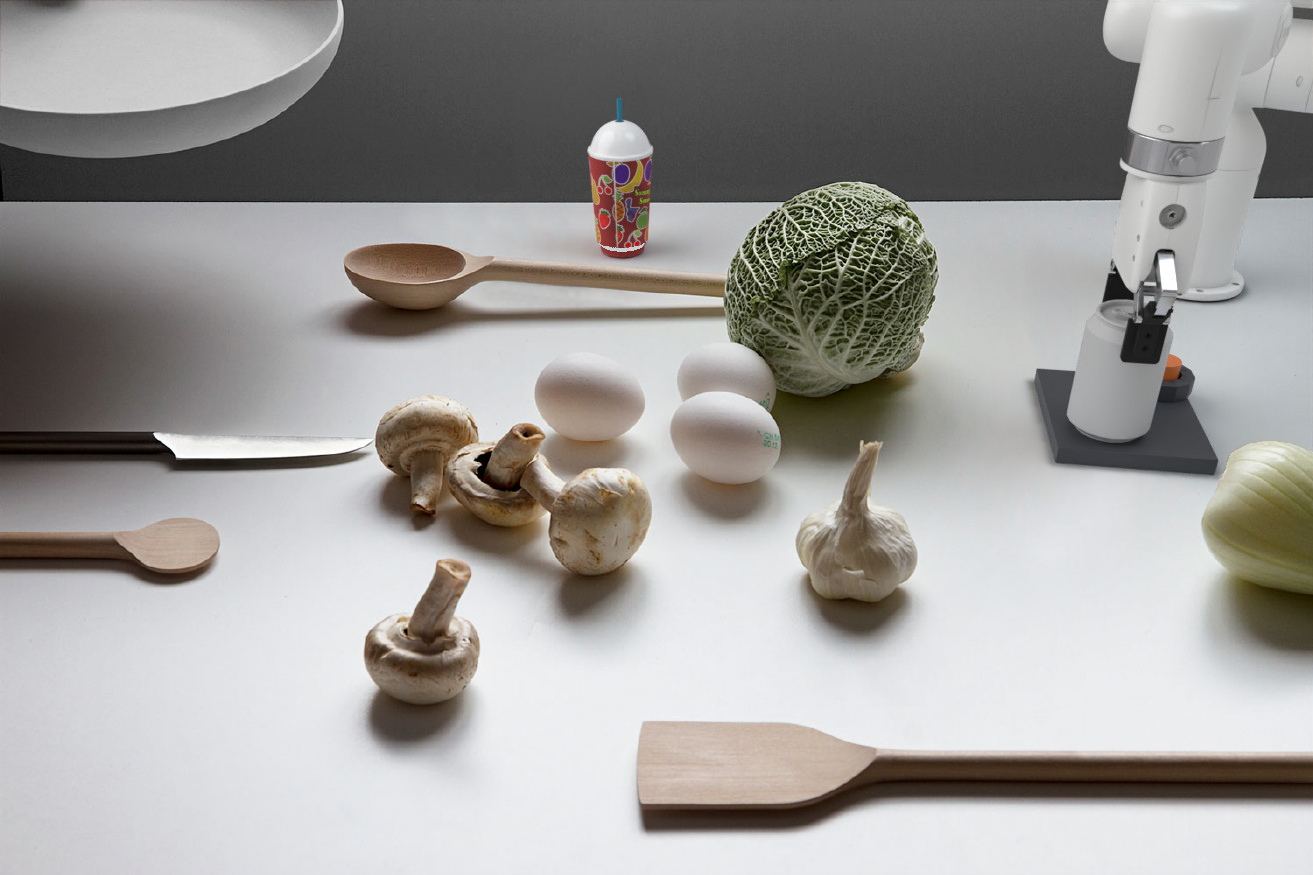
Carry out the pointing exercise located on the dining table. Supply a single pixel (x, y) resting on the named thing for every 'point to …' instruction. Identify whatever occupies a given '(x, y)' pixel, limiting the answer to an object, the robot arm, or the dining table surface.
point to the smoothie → (621, 185)
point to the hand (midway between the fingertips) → (1128, 337)
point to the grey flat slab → (1162, 448)
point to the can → (1113, 379)
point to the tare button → (1172, 368)
